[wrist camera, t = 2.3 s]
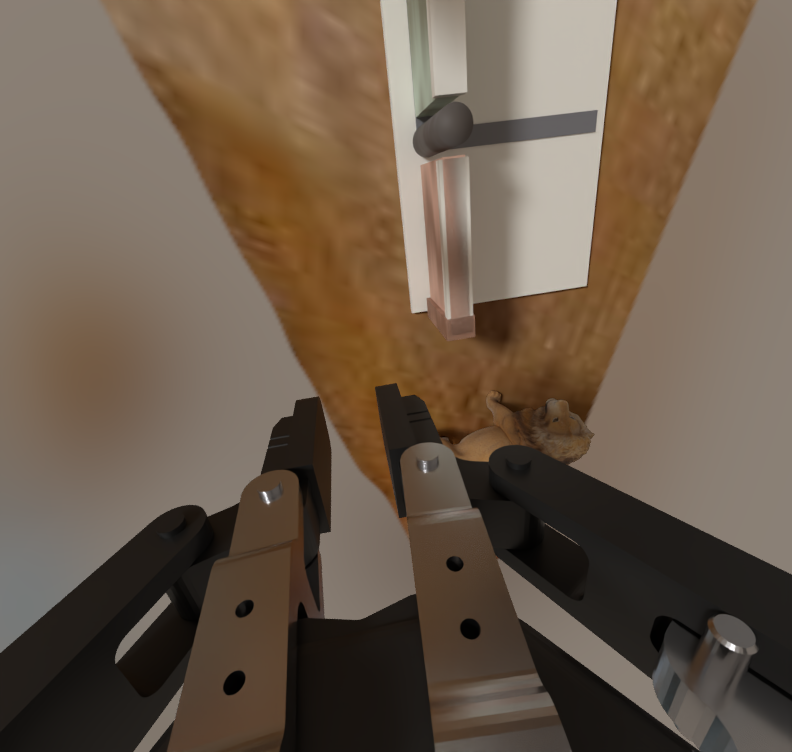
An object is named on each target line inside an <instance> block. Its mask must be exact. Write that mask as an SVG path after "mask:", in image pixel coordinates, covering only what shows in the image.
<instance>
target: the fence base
mask: <svg viewBox="0 0 792 752" xmlns="http://www.w3.org/2000/svg"><path fill="white" fill-rule="evenodd" d="M406 1H407V11H408V12H407V14H408V24H409V25H408V27H409V37H410V50H411V63H412V76H413V89H414V102H415V114H416V118H417V117H426V116H432V117H431V118H430V119H429V120H427V121H426V122H425V123H424V124H422V125H421V126H420V127H419V128H418V129H417V130H416V131H415V133H414V136H413V147H414V150H415V151H416V153H417V154H418V155H420V156H421V157H425V158H428V157H431V156H434V155H436V154H439V153H441V152H444V151H446V150H448V149H451V148H453V147H456V146H458V145H461V144H463V143H464V142H465V141H466V140H467V139H468V138H469V137H470V135H471V133H472V129H473V116H472V113H471V111H470V109H469V108H468V107H467V106H466V105H465V104H463V103H461V102H452V101H453V100H455V99H456V98H457V97H458V96H460V95H464V94H466V93H467V62H466V25H465V0H406Z"/></svg>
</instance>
